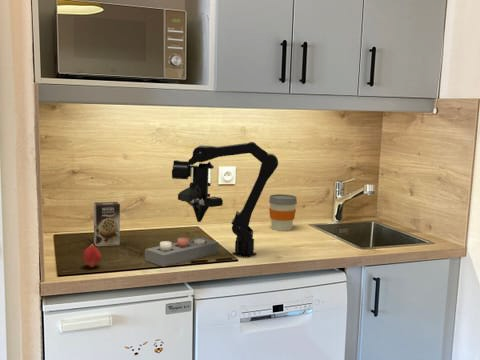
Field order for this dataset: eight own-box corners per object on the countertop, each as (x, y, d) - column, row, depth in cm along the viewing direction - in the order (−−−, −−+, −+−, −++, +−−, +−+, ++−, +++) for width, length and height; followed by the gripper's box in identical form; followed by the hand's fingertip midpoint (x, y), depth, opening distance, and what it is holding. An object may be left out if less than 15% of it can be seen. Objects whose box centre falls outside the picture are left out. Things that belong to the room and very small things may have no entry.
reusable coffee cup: (262, 228, 236) (263, 195, 234) (280, 224, 245) (282, 193, 243) (282, 233, 227) (284, 199, 225) (301, 229, 236) (302, 197, 234)
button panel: (217, 252, 193) (218, 242, 193) (163, 266, 174) (163, 255, 174) (199, 247, 200) (199, 237, 200) (145, 260, 181) (145, 249, 181)
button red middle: (190, 247, 187) (190, 239, 186) (182, 249, 184) (182, 240, 184) (183, 244, 190) (183, 236, 189) (175, 246, 187) (175, 238, 186)
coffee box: (96, 246, 196) (95, 205, 194) (93, 242, 202) (93, 202, 199) (120, 245, 199) (120, 204, 197) (117, 241, 205) (117, 201, 203)
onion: (79, 268, 170) (78, 244, 168) (90, 263, 175) (89, 240, 174) (93, 271, 168) (93, 247, 166) (104, 266, 173) (104, 242, 172)
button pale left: (173, 251, 181) (173, 242, 181) (164, 253, 178) (164, 244, 178) (166, 248, 184) (166, 240, 183) (157, 250, 181) (157, 242, 180)
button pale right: (206, 248, 193) (206, 240, 193) (198, 250, 190) (198, 242, 190) (199, 246, 196) (199, 238, 195) (191, 248, 193) (191, 240, 192)
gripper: (167, 178, 190) (166, 220, 192) (201, 185, 177) (200, 229, 179) (189, 176, 198) (188, 216, 200) (224, 182, 185) (222, 225, 187)
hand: (199, 221), depth 191 cm, fingers closed
